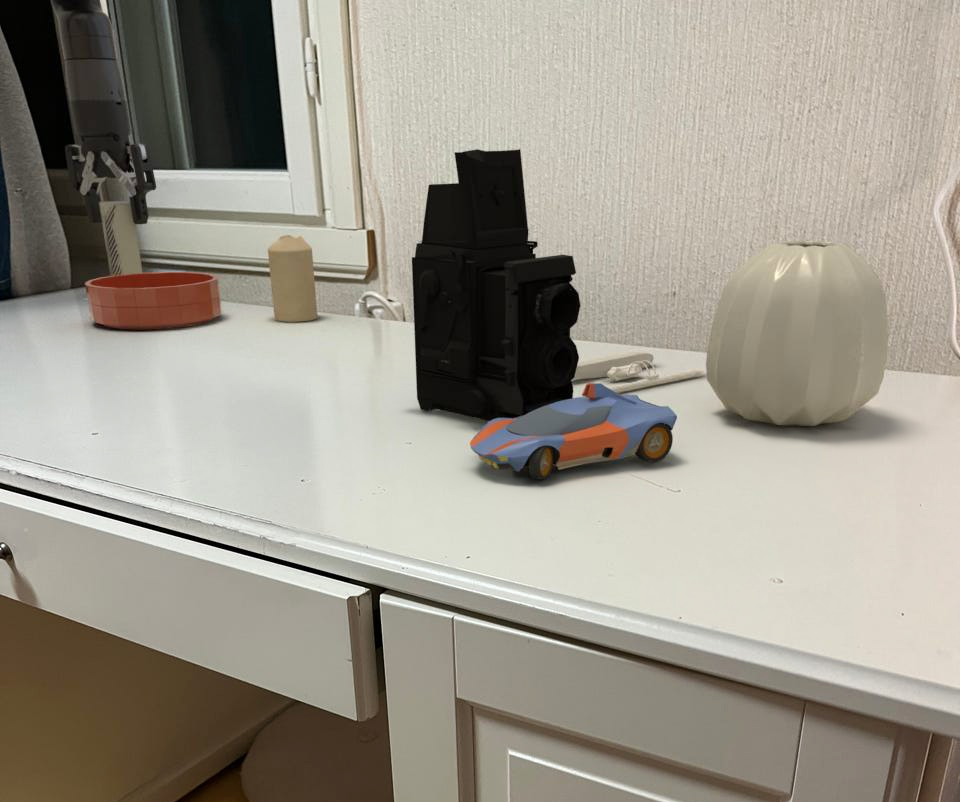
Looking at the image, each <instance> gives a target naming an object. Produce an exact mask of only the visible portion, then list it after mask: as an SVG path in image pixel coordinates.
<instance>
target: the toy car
mask: <svg viewBox="0 0 960 802" xmlns="http://www.w3.org/2000/svg"><path fill="white" fill-rule="evenodd" d="M607 387H608V386H606V385H604V384H603V383H599V382H598V383H597V382H587V383H586V385H585V386H584V389H583V392H582V394H581V396H578V397H573V398H572V399H567V400H562V401H559V402H555V403H552V404H549V405H546V406H543V407H541V408H538V409H536V410H534V411H531V412H529V413H527V414H525V415H523V416H520V417H516V418H495V419H493V420H491V421H487V423H486V424H484V425H483V426H482V427H481V429H480V430H479V431H478V432H477V433H476V434H475V435H474V436H473V438H472V439H470V442H469V445H470V449H471V450H472V451H473V453H474V454H476V455H478V457H479V459H480V461H483V462H484V463H486V464H488V465H490V466H492V465H493V468H495V469H500V470H513V471H515V472H517V473H519V472H520V471H521V470H522V469H523V468H527V467H528V472H529V474H530V476H531V478H533V479H536V480H545V479H547V478H548V477H549V476H550V475H551V472H552V470H553V467H554V466H555V467H557V469H558V471H559V470H564V469H568V468H573V467H576V466H582V465H587V464H592V463H593V464H594V463H600V462H606V461H607V462H608V461H613V460H621V459H624V458H627V457H631V456H636V457H637V458H638V459H639V460H642V461H644V462H646V463H647V462H648V463H658V462H661V461H663V460H664V459H665V458H666V457H667V456H668V454H669V453H670V452H671V449H672V446H673V442H674V441H673V439H674V438H673V432H672V430H673V429H674V427H675V424H676V421H677V420H678V415H677V414H676V413H675V411H674V410H672V408H671V407H669V406H668V405H665V406H660V405H658V404H657V405H656V404H654V403H651V402H648V401H645V400H643V399H641V398H639V396H638V395H637V394H620V393H616V392H614V391H612V390H611V389H609V388H607Z"/></svg>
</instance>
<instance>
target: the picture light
mask: <svg viewBox="0 0 960 802" xmlns="http://www.w3.org/2000/svg"><path fill="white" fill-rule="evenodd" d="M643 361H646V362H648V363H650V366H651V367H652V368H653V372H654V374H651V372H650V369H649V368H648V367H647V366H646V365H645V364H644V363H643ZM638 362H639V363H638ZM635 363H638V364H635ZM640 363H642V364H643V365H644V366H645V367H646V368H645V369H646V370H647V374H648V375H646V379H643V380H642V379H641V380H637V381H633V382H627V383H623V384H618V385H613V386H606V387H607V388H609V389H611V390H612V391H614V392H616V393H618V394H620V393H622V392H628V391H632V390H637V389H643V388H649V387H652V386H657V385H661V384H666V383H672V382H677V381H681V380H687V379H690V378H697V377H699V376H702V374H703V373H704V370H701V369H694V368H693V369H691V370H687V371H682V372H679V373H678V372H677V373H673V374H668V375H662V376H660V375H659V373H657V371H656V368H655V366H654V364H653V362H652V363H651V362H649V361H647V360H642V361H636V362H634V363H631V364H630V365H627V366H622V367H612V368H611V369H610V371H608V372H607V376H606V377H607V378H609V379H610V380H611V381H615V382H618V381H620V380H622V379H628V378H638V377H639V375H640V374H641V373H642V372H643V368H641V367H640V366H639V364H640Z"/></svg>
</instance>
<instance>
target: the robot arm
mask: <svg viewBox="0 0 960 802" xmlns="http://www.w3.org/2000/svg"><path fill="white" fill-rule="evenodd" d="M50 2H51V5H52V8H53V11H54V14H55V16H56V20H57V23H58V30H59V31H58V32H59V37H60V44H61V48H62V54H63V59H64V68H65V81H66V87H67V93H68V99H69V104H70V110H71V115H72V121H73V127H74V132H75V134H76V135H77V136H78V137H79V138H80V139H81V144H66V145H65V146H64V152H65V153H64V154H65V158H66V165H67V172H68V173H67V174H68V180H69V186H70V188H71V190H72V191H77V192H79V193H80V194H81V195H83V199H84V205H85V210H86V215H87V218H88V219H89V222H90V223H91V224H102V218H101V212H100V206H99V202H102V199H101V194H99V192H100V189H101V186H102V183H104V182H105V181H106V179H108V178H109V179H117V181H118V182H119V183H121V184H123V186H124V187H125V189H126V190H127V192H128V193H129V194H130V196H129V197H128V198H129V202H130V204H131V211H132V217H133V222H134V224H136V225H147V224H148V220H149V210H148V203H147V195H148V193H149V192H151V191H155V190H156V189H157V183H156V178H155V172H154V168H153V162H152V156H151V151H150V146H149V145H148V144H147V143H133V144H131V142H130V140H129V136H130V135H131V134H132V127H131V121H130V116H129V109H128V103H127V96H126V90H125V83H124V79H123V75H122V71H121V68H120V63H119V61H118V60H119V58H118V57H119V56H118V51H117V46H116V39H115V34H114V33H115V32H114V29H113V25H112V21H111V19H110V17H109V16H108V15H107V13H105V12H104V11H103V7H102V2H101V0H50ZM78 177H79V178H78Z"/></svg>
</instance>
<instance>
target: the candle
mask: <svg viewBox="0 0 960 802" xmlns="http://www.w3.org/2000/svg"><path fill="white" fill-rule="evenodd" d="M267 255H268V265H269V266H268V267H269V275H270V277H269V278H270V285H271V296H272V305H273V306H272V307H273V316H274V319H275V321H279V322H286V323H287V322H288V323H296V322H297V323H298V322H307V321H308V322H309V321H312V320H316V319H317V318H318V307H317V305H318V304H317V296H316V295H317V293H316V282H315V281H316V280H315V270H314V259H313V258H314V257H313V247H312V246H311V245H309V243H307V241H306V240H305V239H304V238H303V236H302V235H300V236H297V237H294V236H292V235H291V234H285V235H282V236H280V237H279V238H278V239H277V240H276V241H274V242H273V243H271V244H270V246H269V247H268V248H267Z"/></svg>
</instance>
